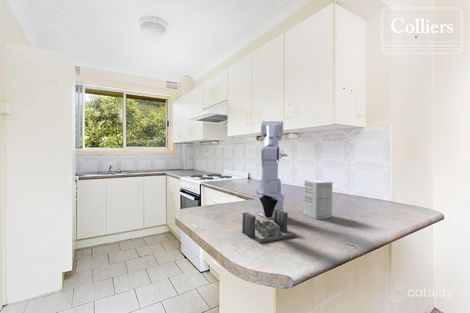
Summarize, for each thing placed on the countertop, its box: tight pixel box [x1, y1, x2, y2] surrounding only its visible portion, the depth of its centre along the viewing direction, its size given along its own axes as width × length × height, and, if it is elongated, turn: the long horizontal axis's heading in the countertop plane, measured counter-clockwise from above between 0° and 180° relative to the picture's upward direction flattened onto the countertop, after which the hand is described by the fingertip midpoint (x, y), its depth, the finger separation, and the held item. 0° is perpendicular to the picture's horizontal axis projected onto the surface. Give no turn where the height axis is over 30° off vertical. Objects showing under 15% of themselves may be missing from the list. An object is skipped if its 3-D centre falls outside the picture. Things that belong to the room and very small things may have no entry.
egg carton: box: [255, 219, 280, 238], centre depth 82 cm, size 11×8×4 cm
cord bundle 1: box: [241, 212, 257, 239], centre depth 78 cm, size 2×7×7 cm, turn 26°
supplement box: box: [303, 179, 333, 220], centre depth 106 cm, size 10×9×17 cm
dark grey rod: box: [258, 232, 297, 244], centre depth 74 cm, size 15×1×1 cm, turn 116°
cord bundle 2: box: [273, 209, 289, 233], centre depth 85 cm, size 2×7×7 cm, turn 26°
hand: (268, 217), depth 80 cm, fingers closed
